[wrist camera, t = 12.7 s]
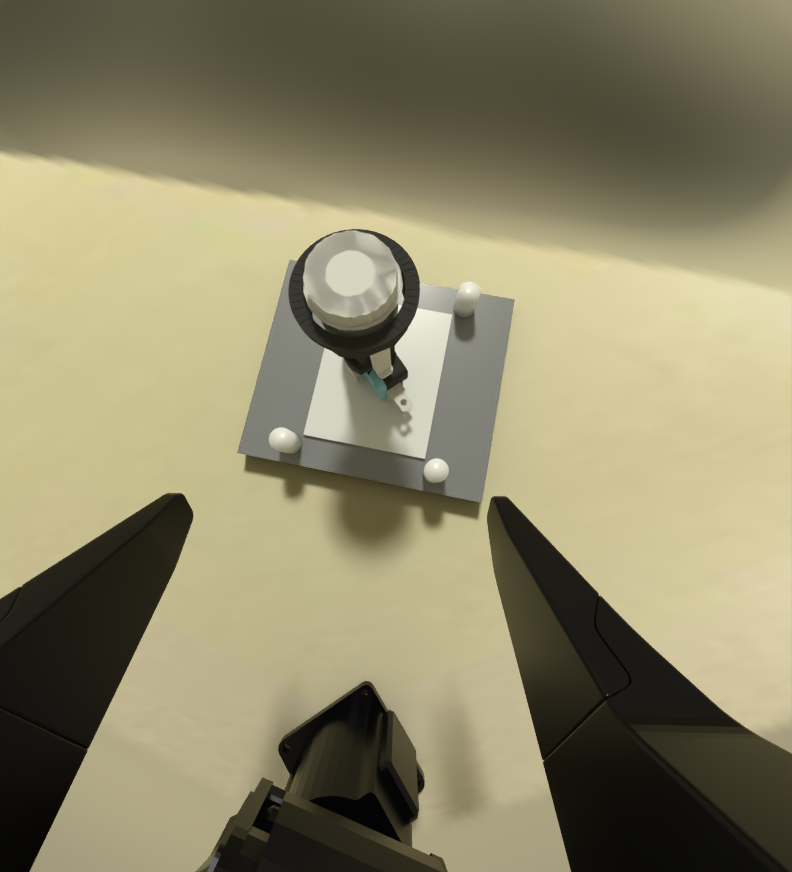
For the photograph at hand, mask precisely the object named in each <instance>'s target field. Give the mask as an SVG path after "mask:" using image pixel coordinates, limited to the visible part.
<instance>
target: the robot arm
mask: <svg viewBox="0 0 792 872" xmlns="http://www.w3.org/2000/svg"><path fill="white" fill-rule="evenodd" d="M192 521H193V511H192V509H191V507H190V505H189V503H188V501H187V500H186V498H185V496H184V495H183V494H181V493H167V494H165V495H163V496H161V497H160V498H158V499H157V500H155V501H154V502H152V503H150V504H149V505H147V506H146V507H144V508H143V509H141V510H139V511H138V512H136V513H135V514H133V515H132V516H130V517H128V518H127V519H125V520H124V521H122V522H121V523H119V524H117V525H116V526H114V527H113V528H111V529H110V530H108V531H106V532H105V533H103V534H102V535H100V536H99V537H97V538H95V539H94V540H92V541H91V542H89V543H88V544H86V545H84V546H83V547H81V548H80V549H78V550H77V551H75V552H73V553H72V554H70V555H69V556H67V557H66V558H64V559H62V560H61V561H59V562H58V563H56V564H55V565H53V566H51V567H50V568H48V569H47V570H45V571H44V572H42V573H40V574H39V575H37V576H36V577H34V578H33V579H31V580H29V581H28V582H26V583H25V584H23V586H22V587H18V588H17V589H15V590H14V591H12V592H11V593H9V594H7V595H6V596H4V597H3V598H1V599H0V872H29V871H30V869H31V867H32V865H33V863H34V861H35V859H36V857H37V855H38V853H39V850H40V848H41V846H42V844H43V842H44V840H45V838H46V836H47V834H48V832H49V830H50V828H51V826H52V824H53V821H54V819H55V817H56V815H57V813H58V811H59V809H60V807H61V805H62V803H63V801H64V799H65V797H66V794H67V792H68V790H69V788H70V786H71V784H72V782H73V780H74V778H75V776H76V774H77V772H78V769H79V768H80V765H81V763H82V761H83V759H84V757H85V755H86V753H87V751H88V750H87V749H88V748H89V746H90V744H91V742H92V740H93V738H94V736H95V734H96V732H97V730H98V728H99V726H100V723H101V721H102V719H103V717H104V715H105V713H106V711H107V709H108V707H109V705H110V703H111V701H112V699H113V696H114V694H115V692H116V690H117V688H118V686H119V684H120V682H121V680H122V678H123V676H124V674H125V672H126V669H127V667H128V665H129V663H130V661H131V659H132V657H133V655H134V653H135V651H136V649H137V647H138V645H139V643H140V640H141V638H142V636H143V634H144V632H145V630H146V628H147V626H148V624H149V622H150V620H151V618H152V616H153V613H154V611H155V609H156V607H157V605H158V603H159V601H160V599H161V597H162V595H163V593H164V591H165V589H166V586H167V584H168V582H169V580H170V578H171V576H172V574H173V572H174V569H175V567H176V565H177V562H178V560H179V557H180V554H181V551H182V548H183V546H184V543H185V540H186V537H187V534H188V532H189V529H190V526H191V523H192ZM487 525H488V532H489V539H490V546H491V554H492V561H493V568H494V573H495V578H496V582H497V586H498V590H499V594H500V598H501V601H502V605H503V609H504V613H505V617H506V621H507V625H508V628H509V632H510V636H511V640H512V644H513V648H514V652H515V656H516V659H517V663H518V667H519V671H520V675H521V679H522V683H523V686H524V690H525V694H526V698H527V702H528V706H529V710H530V714H531V717H532V721H533V725H534V729H535V733H536V737H537V741H538V744H539V748H540V752H541V756H542V759H543V760H544V761H543V764H544V768H545V772H546V776H547V780H548V784H549V788H550V792H551V795H552V799H553V803H554V807H555V811H556V815H557V819H558V822H559V826H560V830H561V834H562V838H563V842H564V845H565V850H566V853H567V857H568V861H569V865H570V869H571V872H792V753H790V752H788V751H786V750H784V749H782V748H780V747H779V746H777V745H775V744H773V743H771V742H769V741H768V740H766V739H764V738H762V737H760V736H758V735H757V734H755V733H754V732H752V731H750V730H749V729H747V728H746V727H744V726H743V725H741V724H740V723H739V722H737V721H736V720H734V719H733V718H732V717H730V716H729V715H728V714H727V713H725V712H724V711H723V710H721V709H720V708H719V707H718V706H717V705H716V704H715V703H713V702H712V701H711V700H710V699H709V698H708V697H707V696H706V695H704V694H703V693H702V692H701V691H700V690H699V689H698V688H697V687H696V686H695V685H693V684H692V683H691V682H690V681H689V680H688V679H687V678H686V677H685V676H684V675H682V674H681V673H680V672H679V671H678V670H677V669H676V668H675V667H674V666H673V665H671V664H670V663H669V662H668V661H667V660H666V659H665V658H664V657H663V656H662V655H660V654H659V653H658V652H657V651H656V650H655V649H654V648H653V647H652V646H651V645H650V644H649V643H648V642H646V641H645V640H644V639H643V638H642V637H641V636H640V635H639V634H638V633H637V632H636V631H635V630H634V629H633V628H632V627H631V626H630V625H629V624H628V623H627V622H626V621H625V620H624V619H623V618H622V617H621V616H620V615H619V614H618V613H617V612H616V611H615V610H614V609H613V608H612V607H611V606H610V605H609V604H608V603H607V602H606V601H605V600H604V599H603V597H602V596H599V594H598V592H597V591H596V590H595V589H594V588H593V587H592V586H591V585H590V584H589V583H588V582H587V581H586V580H585V579H584V578H583V577H582V575H581V574H580V573H579V572H578V571H577V570H576V569H575V568H574V567H573V566H572V565H571V564H570V563H569V562H568V561H567V560H566V559H565V557H564V556H563V555H562V554H561V553H560V552H559V551H558V550H557V549H556V548H555V547H554V546H553V545H552V544H551V543H550V542H549V541H548V540H547V538H546V537H545V536H544V535H543V534H542V533H541V532H540V531H539V530H538V529H537V528H536V527H535V526H534V525H533V524H532V523H531V522H530V520H529V519H528V518H527V517H526V516H525V515H524V514H523V513H522V512H521V511H520V510H519V509H518V508H517V507H516V506H515V505H514V504H513V503H512V501H511V500H510V499H509V498H507V497H505V496H493V497H492V498H491V501H490V506H489V510H488V515H487ZM365 689H367V690H369V691H370V693H369V694H368V695H366V694H364V693H363V690H365ZM285 744H289V745H290V746H291V748H286V747H285ZM278 751H279V754H280V756H281V758H282V760H283V762H284V764H285V766H286V768H287V770H288V771H289V773H290V777H289V780H288V782H287V785H286V787H285V790H282V789H280V788H278V787H276V786H273V785H272V784H273V782H272V781H270V780H268V779H265V778H262V779H261V781H260V783H259V785H258V786H257V788H256V790H255V792H252V791H251V792H250V793H249V795H248V797H247V798H246V800H245V802H244V804H243V805H242V807H241V809H240V810H239V812H238V814H236V815H234V816H232V817H231V818H230V819H229V821H228V823H227V825H226V827H225V829H224V831H223V833H222V835H221V837H220V839H219V840H218V842H217V844H216V846H215V848H214V850H213V852H212V853H211V855H210V857H209V858H208V859H207V860H206V861H205V862H204V863H203V865H202V866H201V867H200V868H199V869H198V870H197V871H196V872H447V869H446V866H445V864H444V861H443V859H442V858H441V857H439V856H436V855H434V854H432V853H431V854H430V855H427V854H425V853H422V852H421V851H419V850H416V849H414V848H412V825H411V823H412V822H413V821H414V820H416V819H417V817H418V811H419V803H418V793H419V792H420V791H421V790H422V789H423V788H424V774H423V771H422V770H421V768H420V766H419V764H418V763H417V761H416V750H415V748H414V746H413V744H412V743H411V741H410V739H409V737H408V736H407V734H406V732H405V730H404V729H403V727H402V725H401V723H400V722H399V720H398V718H397V716H396V715H395V713H394V712H393V711H391V710H387V708H386V706H385V705H384V703H383V701H382V699H381V698H380V696H379V694H378V692H377V691H376V689H375V687H374V685H373V684H372V683H371V682H369V681H365V682H362V683H361V684H359V685H358V686H357V687H355V688H354V689H352V690H351V691H349V692H348V693H346V694H345V695H343V696H342V697H340V698H339V699H338V700H336V701H335V702H333V703H332V704H330V705H329V706H327V707H326V708H324V709H323V710H322V711H320V712H319V713H317V714H316V715H314V716H313V717H311V718H310V719H308V720H307V721H306V722H304V723H303V724H301V725H300V726H298V727H297V728H295V729H294V730H292V731H291V732H290V733H288V734H287V735H285V736H284V737H283V738H282V740H281V742H280V744H279V747H278ZM417 778H418V779H419V781H417Z"/></svg>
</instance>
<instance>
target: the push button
mask: <svg viewBox="0 0 792 872" xmlns="http://www.w3.org/2000/svg"><path fill="white" fill-rule="evenodd" d="M401 292H402V294H403V297H404V301H403V304H402V307H401V309H400V311H399V312H398V302H399V298H400V295H401ZM288 296H289V303H290V307H291V311H292V313H293V315H294V318H295V319H296V321H297V323H298V324H299V326H300V327H301V329H302V330H303V332H304V333H305V334H306V335H307V336H308V337H309V338H310V339H311V340H313V341H314V342H315V343H317V344H318V345H320V346H322V347H324V348H326V349H328V350H330V351H332V352H334V353H335V354H336V355H338V356H340V357H343V358H344V360H345V362H346V365H347V368H348V370H349V372H350V374H351V375H352V377H353V378H354V379H355V381H356V382H357V384H359V382H358V380H357V377H358V376H360V375H362V374H363V375H364V377H365V378H366V380H367V381H368V382H369V384H370V385H371V387H372V388H373V390H374V391H375V392H376V394H377V395H378V397H379V398H380V399H381V400H383V399H384V398H386V397H387V398H388V399H389V401H390V402H391V403H393V402H394V404H395V405H396V407H397V408H398V409H399V411H400V412H401V414H402V415H405V414H406V413H408V412H409V411H411V410H412V406H413V404H412V402H411V401H410V399H409V398H408V397H407V395H406V394H405V392H404V391H405V388H404V387H403V381H404V380H406V379H407V378H408V370H407V368H406V367H405V365H404V364H403V363H402V361H401V360H400V358H399V357H398V356H397V354H396V352H395V345H396V344H397V342H398V341H399V340H400V339H401V337H402V336H403V335H404V334H405V332H406V331H407V330H408V327H409V325H410V324H411V322H412V320H413V319H414V316H415V314H416V311H417V308H418V303H419V296H420V282H419V276H418V272H417V269H416V267H415V264H414V263H413V261H412V259H411V257H410V256H409V255H408V253H407V252H406V251H405V250H404V249H403V248H402V247H401V246H400V245H399V244H398V243H396V242H395V241H394V240H392V239H390V238H389V237H387V236H385V235H382V234H380V233H377V232H373V231H369V230H362V229H351V230H343V231H339V232H335V233H332V234H329V235H327V236H325V237H323V238H321V239H319V240H318V241H316V242H315V243H313V244H312V245H311V246H310V247H309V248H308V249H306V250H305V252H304V253H303V254H302V255H301V256H300V258H299V259H298V261H297V262H296V264H295V266H294V268H293V271H292V273H291V277H290V281H289V288H288ZM312 312H313V313H314V314H315V315H316V316H317V317H318V318H319V319H320V320H321V322H322V324H323V326H324V328H325V329H323V328H322V327H321V326H319V325H318V324H317V323H316V322H315V321H314V320H313V314H312ZM402 403H406V405H404V406H403V405H401V404H402Z"/></svg>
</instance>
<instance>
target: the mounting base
mask: <svg viewBox="0 0 792 872" xmlns="http://www.w3.org/2000/svg"><path fill="white" fill-rule="evenodd" d="M296 262H297V261H293V260H289V264H288V268H287V271H286V275H285V279H284V282H283V286H282V290H281V293H280V297H279V301H278V305H277V308H276V312H275V316H274V319H273V323H272V327H271V330H270V334H269V338H268V341H267V345H266V349H265V353H264V356H263V360H262V364H261V367H260V371H259V375H258V378H257V382H256V386H255V389H254V393H253V397H252V401H251V404H250V408H249V412H248V415H247V419H246V423H245V426H244V430H243V434H242V437H241V441H240V445H239V449H238V452H237V453H240V454H245V455H250V456H255V457H259V458H264V459H269V460H274V461H279V462H284V463H289V464H294V465H299V466H303V467H308V468H313V469H318V470H323V471H328V472H333V473H338V474H343V475H348V476H352V477H357V478H362V479H367V480H372V481H377V482H382V483H387V484H392V485H397V486H401V487H406V488H411V489H416V490H421V491H426V492H431V493H436V494H441V495H445V496H450V497H455V498H460V499H465V500H470V501H475V502H480V503H481V502H482V496H483V490H484V484H485V478H486V472H487V466H488V459H489V453H490V447H491V441H492V435H493V429H494V423H495V416H496V410H497V404H498V398H499V392H500V386H501V380H502V373H503V367H504V361H505V355H506V349H507V343H508V337H509V330H510V324H511V318H512V312H513V306H514V299H508V298H503V297H497V296H491V295H486V294H481V290H480V287H479V286H478V285H477V284H476V283H474V282H465V283H463V284H462V285H461V286H460V287H459V290H457V289H452V288H446V287H440V286H435V285H429V284H423V283H420V296H419V303H418V308H417V311H416V314H415V316H414V319H413V320H412V322H411V324H410V325H409V327H408V330H407V331H406V332H405V334H404V335H403V336H402V337H401V339H400V340H399V341H398V342H397V344H396V345H395V352H396V354H397V356H398V357H399V358H400V360H401V361H402V363H403V364H404V365H405V367H406V368H407V370H408V378H407V379H406V380H404V381H403V387H404V388H405V391H404V392H405V394H406V395H407V397H408V398H409V399H410V401H411V402H412V404H413V406H412V410H411V411H409V412H408V413H406V414H405V415H402V414H401V412H400V411H399V409H398V408H397V407H396V405H395V404H394V402H393V403H391V402H390V401H389V399H388V398H387V397H386V398H384V399H383V400H381V399H380V398H379V397H378V395H377V394H376V392H375V391H374V390H373V388H372V387H371V385H370V384H369V382H368V381H367V380H366V378H365V377H364V375H363V374H362V375H360V376H358V377H357V380H358V382H359V384H357V382H356V381H355V379H354V378H353V377H352V375H351V374H350V372H349V370H348V368H347V365H346V362H345V360H344V358H343V357H340V356H338V355H336V354H335V353H334V352H332V351H330V350H328V349H326V348H324V347H322V346H320V345H318V344H317V343H315V342H314V341H313V340H311V339H310V338H309V337H308V336H307V335H306V334H305V333H304V332H303V330H302V329H301V327H300V326H299V324H298V323H297V321H296V319H295V318H294V315H293V313H292V311H291V307H290V303H289V296H288V288H289V281H290V277H291V273H292V271H293V268H294V266H295V264H296ZM403 301H404V297H403V294H402V292H401V295H400V298H399V302H398V312H399V311H400V309H401V307H402V304H403ZM312 314H313V320H314V321H315V322H316V323H317V324H318V325H319V326H321V327H322V328H323V329H325V328H324V326H323V324H322V322H321V320H320V319H319V318H318V317H317V316H316V315H315V314H314V313H313V312H312ZM401 405H403V406H404V405H406V403H402V404H401Z"/></svg>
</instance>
